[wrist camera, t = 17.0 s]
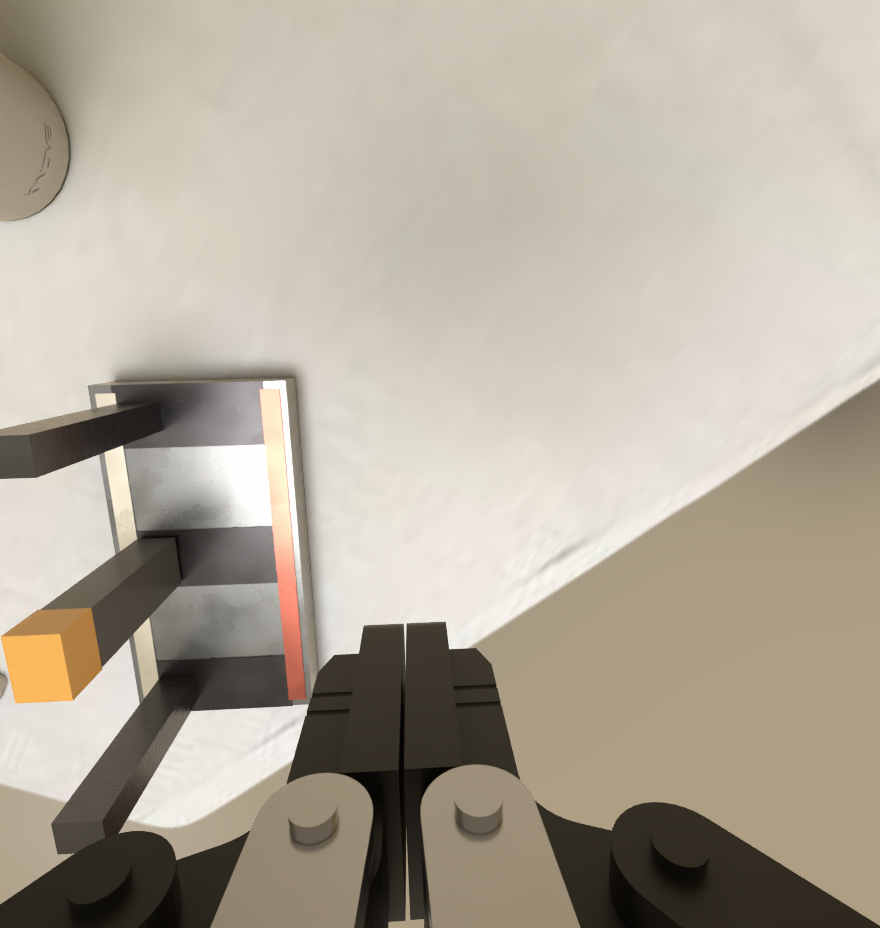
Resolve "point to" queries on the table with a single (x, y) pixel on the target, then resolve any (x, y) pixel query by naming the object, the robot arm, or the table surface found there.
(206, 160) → the table surface
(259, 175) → the table surface
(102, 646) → the lever
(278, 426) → the pillared base stand
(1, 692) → the game controller
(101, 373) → the table surface
